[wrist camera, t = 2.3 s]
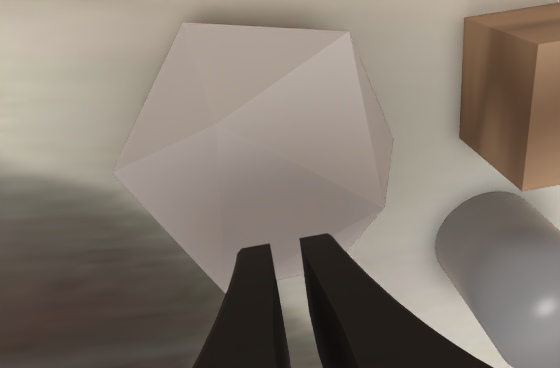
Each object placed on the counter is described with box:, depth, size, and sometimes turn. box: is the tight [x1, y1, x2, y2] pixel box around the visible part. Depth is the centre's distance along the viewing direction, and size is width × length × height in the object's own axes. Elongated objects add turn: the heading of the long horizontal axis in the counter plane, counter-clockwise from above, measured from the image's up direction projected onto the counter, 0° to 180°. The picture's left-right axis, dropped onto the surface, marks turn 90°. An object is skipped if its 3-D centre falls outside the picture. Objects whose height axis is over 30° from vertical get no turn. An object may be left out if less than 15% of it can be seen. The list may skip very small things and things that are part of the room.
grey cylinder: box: [435, 192, 560, 368], centre depth 21 cm, size 5×5×6 cm
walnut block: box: [459, 3, 560, 191], centre depth 18 cm, size 5×5×5 cm
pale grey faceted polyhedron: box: [112, 22, 393, 293], centre depth 17 cm, size 8×9×10 cm
